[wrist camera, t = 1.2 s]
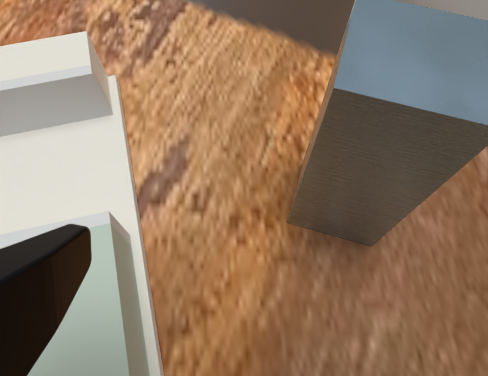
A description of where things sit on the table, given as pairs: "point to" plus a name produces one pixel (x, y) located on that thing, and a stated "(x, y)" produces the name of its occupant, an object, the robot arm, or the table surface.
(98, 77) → the vise bed
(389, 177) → the slate-blue block
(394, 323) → the table surface
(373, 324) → the table surface
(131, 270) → the block
